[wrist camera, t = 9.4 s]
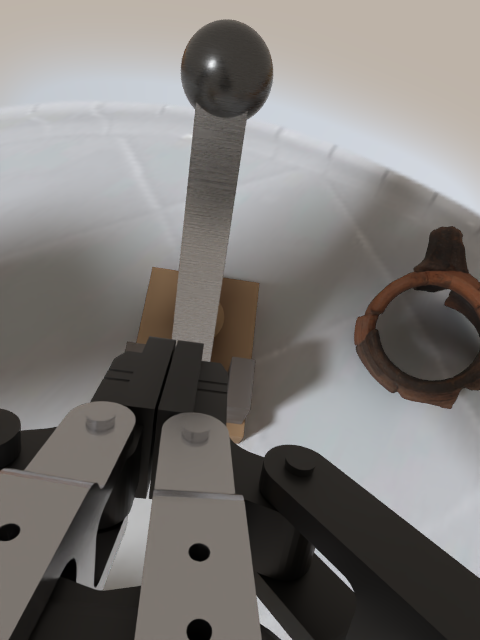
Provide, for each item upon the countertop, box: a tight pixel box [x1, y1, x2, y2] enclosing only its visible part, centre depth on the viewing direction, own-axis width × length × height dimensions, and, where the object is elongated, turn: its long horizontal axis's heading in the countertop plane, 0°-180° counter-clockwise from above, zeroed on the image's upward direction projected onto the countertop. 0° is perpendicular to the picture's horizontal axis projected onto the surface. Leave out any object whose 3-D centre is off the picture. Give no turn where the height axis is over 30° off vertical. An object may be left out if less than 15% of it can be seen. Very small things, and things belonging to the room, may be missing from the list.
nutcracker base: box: [125, 267, 259, 444], centre depth 27 cm, size 7×10×6 cm
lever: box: [172, 20, 273, 366], centre depth 21 cm, size 4×4×18 cm
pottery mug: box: [354, 226, 480, 409], centre depth 31 cm, size 12×10×8 cm
